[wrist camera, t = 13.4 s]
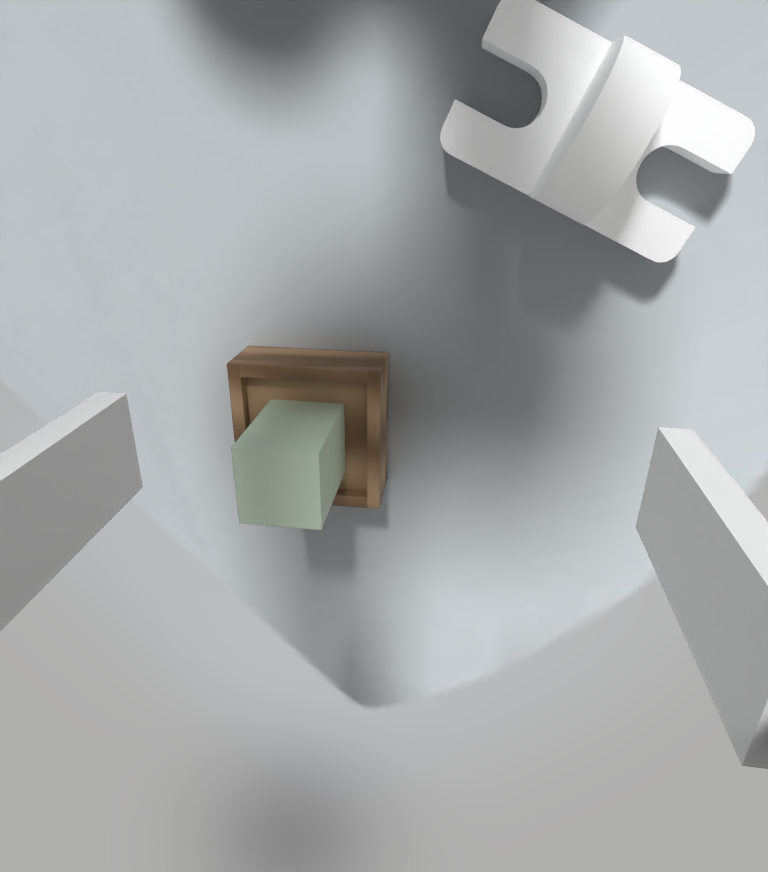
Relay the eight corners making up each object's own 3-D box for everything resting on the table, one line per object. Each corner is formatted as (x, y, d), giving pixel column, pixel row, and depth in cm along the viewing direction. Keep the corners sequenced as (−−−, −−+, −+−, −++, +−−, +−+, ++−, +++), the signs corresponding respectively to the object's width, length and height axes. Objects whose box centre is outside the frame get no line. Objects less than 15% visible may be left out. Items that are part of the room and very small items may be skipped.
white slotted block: (503, -2, 39) (514, -53, 30) (740, 128, 41) (825, 120, 31) (436, 146, 44) (426, 144, 34) (653, 260, 45) (703, 289, 35)
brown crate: (248, 345, 51) (226, 364, 47) (388, 352, 50) (380, 372, 46) (258, 470, 56) (240, 497, 52) (386, 479, 55) (379, 508, 51)
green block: (270, 399, 49) (231, 447, 41) (344, 403, 48) (318, 453, 40) (275, 465, 51) (239, 523, 43) (345, 470, 51) (321, 530, 43)
